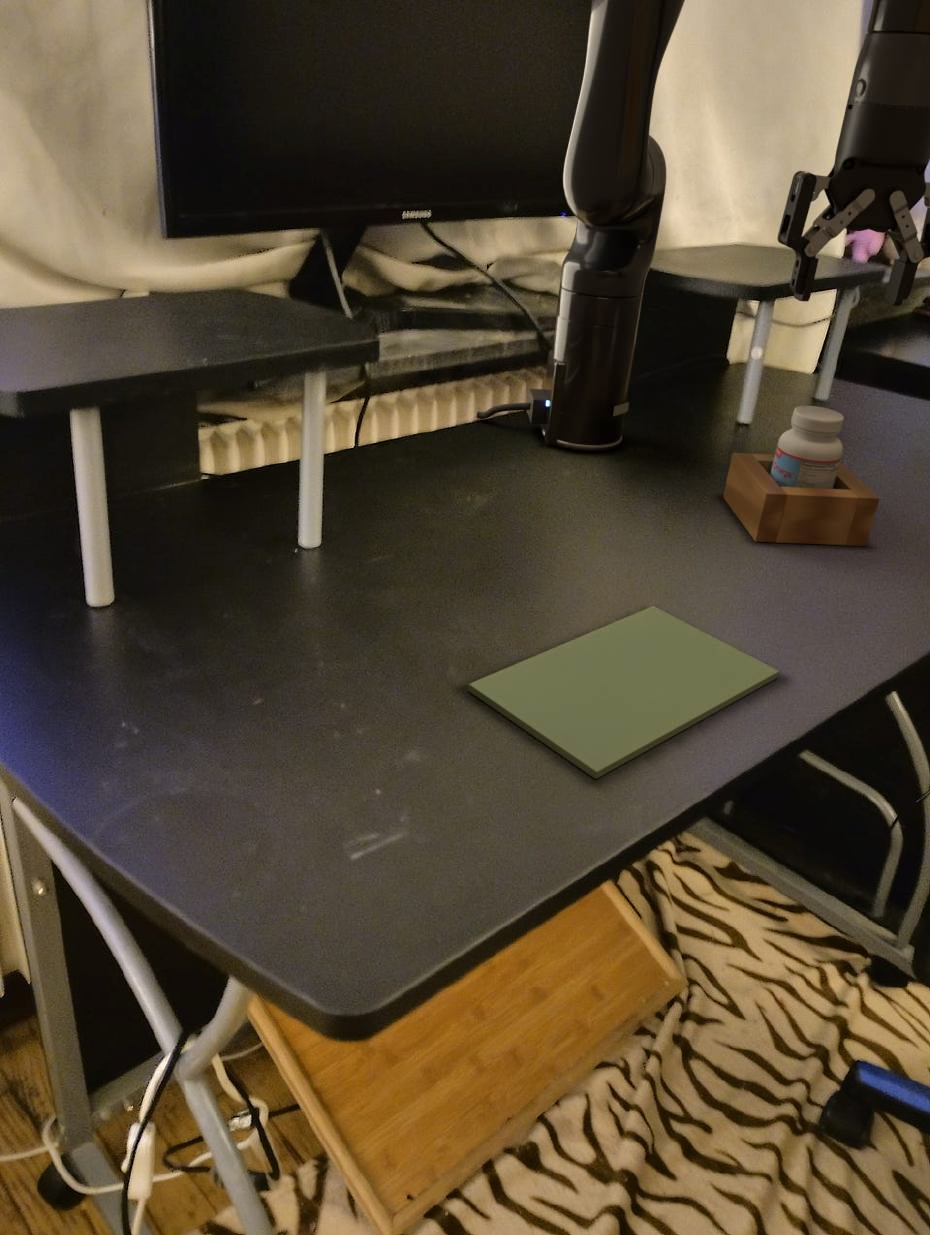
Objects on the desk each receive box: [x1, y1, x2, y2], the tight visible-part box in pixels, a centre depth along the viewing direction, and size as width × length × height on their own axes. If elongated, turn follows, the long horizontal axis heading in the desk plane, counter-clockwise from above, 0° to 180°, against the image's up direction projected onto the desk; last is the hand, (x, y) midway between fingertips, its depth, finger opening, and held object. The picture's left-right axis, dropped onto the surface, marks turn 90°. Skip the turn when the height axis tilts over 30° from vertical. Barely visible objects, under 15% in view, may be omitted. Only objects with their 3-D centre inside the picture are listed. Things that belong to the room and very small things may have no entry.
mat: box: [467, 605, 780, 780], centre depth 70 cm, size 20×12×1 cm, turn 131°
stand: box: [722, 452, 881, 547], centre depth 98 cm, size 11×11×5 cm
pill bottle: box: [770, 405, 844, 489], centre depth 96 cm, size 6×6×11 cm
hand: (846, 302), depth 89 cm, fingers open, 8 cm apart
